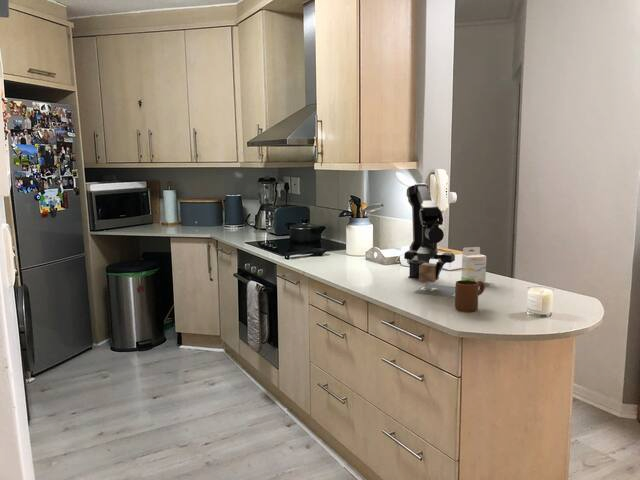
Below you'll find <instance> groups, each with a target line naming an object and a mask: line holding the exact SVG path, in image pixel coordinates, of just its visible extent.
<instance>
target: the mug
mask: <svg viewBox="0 0 640 480" xmlns="http://www.w3.org/2000/svg"><path fill="white" fill-rule="evenodd" d="M454 287H455V298H454V308H455V310H457V311H459V312H464V313H474V312H476V311H477V310H478V307H479V296H481V295H482V294H483V293H484V292H485V287H486V285H485V283H483V282H482V281H477V282H475V281H470V280H457V281H456V282H455V285H454ZM478 289H479V290H478Z"/></svg>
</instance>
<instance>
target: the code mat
mask: <svg viewBox="0 0 640 480" xmlns="http://www.w3.org/2000/svg"><path fill="white" fill-rule="evenodd" d="M478 290H479V288H478ZM412 293H413V294H419V295H430V296H438V297H448V298H454V299H455V286H453V285H451V286H450V285H443V284H432V283H426V284H424V285H423V286H421V287H420V288H418V289H416V290H415V291H413V292H412Z"/></svg>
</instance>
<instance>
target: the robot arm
mask: <svg viewBox="0 0 640 480" xmlns="http://www.w3.org/2000/svg"><path fill="white" fill-rule="evenodd" d="M406 197H407V202H408V203H409V205H410V206H411V211H412V212H411V214H412V218H411V219H412V242H411V244H410V245H409V250H407V251H405V252H404V254H403V255H404V257H403V258H404V259H405V260H406V262H407V265H409V274H408V275H409V276H407V278H408V279H415V280H417V279H418V280H419V265H421V264H423V263H430V260H437V262H435V264H437V269H436V279H438V277H439V276H440V274H441V272H442V269H443V267H444V265H445V264H447V263H448V264H450V263H453V262H455V261H456V256H455V255H456V254H454V253H453V252H452V253H451V252H443V253H442V254H438V253H439V251H438V244H439V243H440V242H441V241H442V240H443V239H444V235H445V234H444V231H443V229H441V228H440V227H439V226H442V225H444V217H443V212H442V210H441V209H440V207H439V205H438V204H437V203H435V202H434V201H433V200H432V197H431V194H430V192H429V185H428V184H427V183H415V184H414V185H411V186H409V187H408V188H406ZM439 278H440V277H439ZM438 280H439V279H438Z"/></svg>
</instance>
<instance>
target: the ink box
mask: <svg viewBox="0 0 640 480" xmlns="http://www.w3.org/2000/svg"><path fill="white" fill-rule="evenodd" d="M471 250H472V251H471ZM486 276H487V255H484V254H481V247H480V246H473V247H463V248H462V255H461V276H460V277H461V280H470V281H475V282H477V281H482V282H483V283H484V284H486Z"/></svg>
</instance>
